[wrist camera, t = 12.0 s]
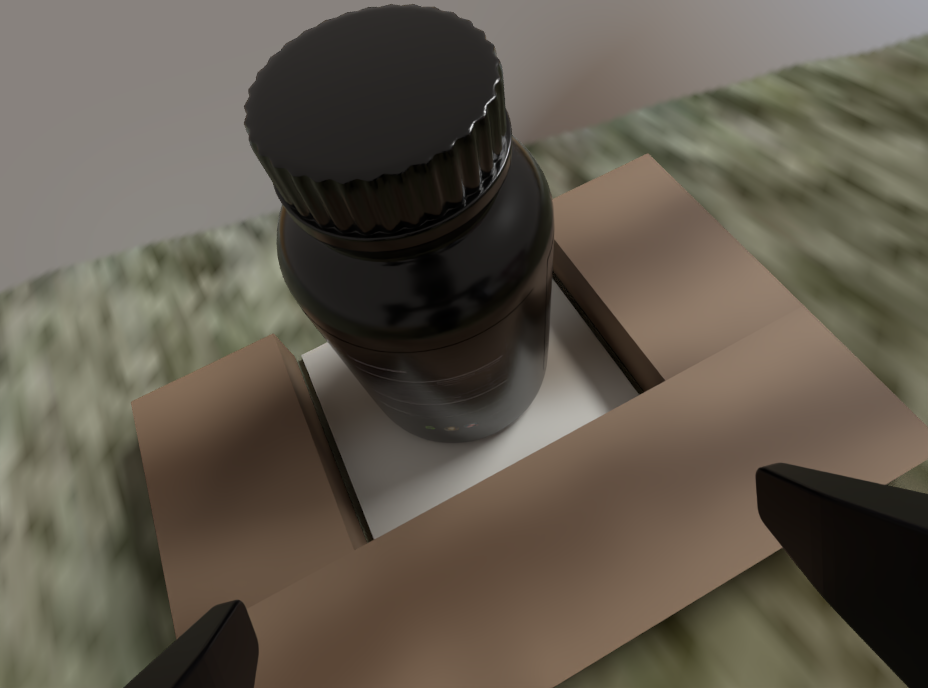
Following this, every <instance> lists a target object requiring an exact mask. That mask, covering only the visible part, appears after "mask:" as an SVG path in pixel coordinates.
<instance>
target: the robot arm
mask: <svg viewBox="0 0 928 688" xmlns="http://www.w3.org/2000/svg"><path fill="white" fill-rule="evenodd" d="M755 481H756V495H757V508H758V513H759V516H760V518H761V520H762V522H763V523H764V525H765V526H766V527H767V528H768V530H769V531H770V532H771V533H772V535H773V536H774V537H775V538H776V540H777V541H778V542H779V544H780V545H781V546H782V547H783V549H784V550H785V551H786V552H787V554H788V555H789V556H790V557H791V559H792V560H793V561H794V562H795V564H796V565H797V566H798V567H799V569H800V570H801V571H802V572H803V574H804V575H805V576H806V577H807V579H808V580H809V581H810V582H811V584H812V585H813V586H814V587H815V589H816V590H817V591H818V592H819V593H820V594H821V596H822V597H823V598H824V599H825V600H826V601H827V602H828V603H829V605H830V606H831V607H832V608H833V609H834V610H835V611H836V612H837V613H838V614H839V615H840V616H841V617H842V618H843V620H844V621H845V622H846V623H847V624H848V625H849V626H850V627H851V628H852V629H853V630H854V631H855V632H856V633H857V634H858V635H859V636H860V637H861V638H862V639H863V640H864V641H865V643H866V644H867V645H868V646H869V647H870V648H871V649H872V650H873V651H874V652H875V653H876V654H877V655H878V656H879V657H880V658H881V659H882V660H883V661H884V662H885V663H886V664H887V666H888V667H889V668H890V669H891V670H892V671H893V672H894V673H895V674H896V675H897V676H898V677H899V678H900V679H901V680H902V681H903V682H904V683H905V684H906V685H907V686H908V688H928V494H925V493H921V492H916V491H911V490H907V489H902V488H898V487H893V486H888V485H884V484H879V483H875V482H870V481H865V480H861V479H856V478H852V477H847V476H842V475H838V474H833V473H828V472H824V471H819V470H815V469H810V468H805V467H801V466H796V465H792V464H787V463H782V462H780V463H774V464H770V465H766V466H762V467H759V468H758V469H757V471H756V474H755ZM258 657H259V644H258V639H257V636H256V633H255V630H254V628H253V625H252V622H251V620H250V617H249V614H248V611H247V609H246V606H245V604H244V603H243V602H242V601H240V600H233V601H229V602H225V603H221V604H217V605H215V606H213V607H212V608H211V609H210V610H209V611H208V612H207V613H205V614H204V615H203V616H202V617H201V618H200V619H199V620H198V621H197V622H195V623H194V624H193V625H192V626H191V627H190V628H189V629H188V630H187V631H185V632H184V633H183V634H182V635H181V636H180V637H179V638H178V639H177V640H176V641H174V642H173V643H172V644H171V645H170V646H169V647H168V648H167V649H166V650H164V651H163V652H162V653H161V654H160V655H159V656H158V657H157V658H156V659H154V660H153V661H152V662H151V663H150V664H149V665H148V666H147V667H146V668H144V669H143V670H142V671H141V672H140V673H139V674H138V675H137V676H136V677H135V678H133V679H132V680H131V681H130V682H129V683H128V684H127V685H126V686H125V687H123V688H254V685H255V678H256V671H257V664H258Z"/></svg>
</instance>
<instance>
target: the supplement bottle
mask: <svg viewBox="0 0 928 688" xmlns="http://www.w3.org/2000/svg"><path fill="white" fill-rule="evenodd" d="M244 108H245V112H246V114H247V115H246V118H245V121H244V125H245V128H246V131H247V133H248V135H249V142H250V145H251V147H252V149H253V151H254V153H255V154H256V156H257V158H258V159H259V161H260V163H261V164H262V166H263V167H264V169H265V171H266V172H267V174H268V175H269V177H270V178H271V180H272V182H273V185H274V189H275V191H276V194H277V196H278V198H279V199H280V201H281V203H282V206H281V210H280V214H279V219H278V226H277V253H278V260H279V265H280V269H281V272H282V275H283V278H284V280H285V283H286V285H287V286H288V288H289V290H290V292H291V294H292V295H293V297H294V298H295V300H296V301H297V303H298V304H299V306H300V307H301V309H302V310H303V311H304V313H305V314H306V315H307V317H308V318H309V319H310V320H311V322H312V323H313V324H314V326H315V327H316V328H317V329H318V331H319V332H320V333H321V334H322V336H323V337H324V338H325V339H326V341H327V342H328V343H329V345H330V346H331V347H332V348H333V350H334V351H335V352H336V353H337V355H338V356H339V357H340V358H341V360H342V361H343V362H344V363H345V365H346V366H347V367H348V369H349V370H350V371H351V372H352V374H353V375H354V376H355V377H356V379H357V380H358V381H359V382H360V384H361V385H362V386H363V387H364V389H365V390H366V391H367V393H368V394H369V395H370V396H371V398H372V399H373V400H374V401H375V403H376V404H377V405H378V406H379V407H380V408H381V409H382V411H383V412H384V413H385V414H386V415H387V416H388V417H389V418H390V419H391V420H392V421H393V422H394V423H395V424H397V425H398V426H400V427H401V428H402V429H404V430H405V431H407V432H409V433H411V434H413V435H415V436H417V437H420V438H423V439H426V440H430V441H434V442H441V443H464V442H470V441H475V440H479V439H483V438H485V437H488V436H491V435H493V434H495V433H497V432H499V431H501V430H503V429H504V428H506V427H507V426H509V425H510V424H512V423H513V422H514V421H515V420H517V419H518V418H519V417H520V416H521V415H522V414H523V413H524V412H525V411H526V410H527V408H528V407H529V406H530V405H531V403H532V402H533V400H534V399H535V397H536V395H537V394H538V392H539V390H540V387H541V385H542V382H543V379H544V376H545V372H546V367H547V359H548V349H549V332H550V311H551V291H552V271H553V251H554V207H553V201H552V195H551V192H550V189H549V185H548V182H547V180H546V178H545V176H544V173H543V171H542V170H541V168H540V166H539V165H538V163H537V161H536V160H535V159H534V157H533V156H532V155H531V153H530V152H529V151H528V150H527V149H526V148H525V146H524V145H523V144H522V143H521V142H520V141H519V140H518V139H516V138H515V137H514V136H513V135H512V128H511V122H510V118H509V115H508V112H507V110H506V108H505V97H504V82H503V70H502V66H501V63H500V61H499V59H498V58H497V54H496V50H495V46H494V45H493V44H492V43H491V42H489V41H488V40H486V36H485V33H484V31H481V30H479V29H477V28H475V27H474V26H473V24H472V22H471V21H469V20H466V19H462V18H459V17H458V16H457V15H456V14H455V13H454V12H447V11H441V10H439V9H437V8H436V7H421V6H418V5H414V4H411V5H402V6H400V5H393V4H390V5H386V6H382V7H368V8H365V9H362V10H359V11H356V12H347V13H345V14H343V15H340V16H339V17H337V18H333V19H329V20H325V21H323V22H322V23H320V24H319V25H318V26H316V27H314V28H311V29H308V30H306V31H304V32H303V33H302V34H301V35H300V36H298V37H297V38H296V39H294V40H292V41H290V42H288V43H286V44H285V45H284V47H283V48H282V49H281V51H279V52H278V53H276V54H275V55H273V56H272V57H271V58H270V59H269V61H268V63H267V65H266V66H265V67H264V68H263V69H261V70H260V71H259V72H258V73H257V76H256V81H255V82H254V83H253V84H252V86H251V87H250V88H249V98H248V100H247V102H246V104H245V105H244Z"/></svg>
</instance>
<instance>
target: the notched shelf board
mask: <svg viewBox="0 0 928 688" xmlns="http://www.w3.org/2000/svg"><path fill="white" fill-rule="evenodd" d="M552 201H553V207H554V251H553V271H554V273H555V274H556V275H557V277H558V278H559V279H560V281H561V282H562V283H563V285H564V286H565V287H566V289H567V290H568V291H569V293H570V294H571V295H572V296H573V298H574V299H575V300H576V302H577V303H578V304H579V306H580V307H581V308H582V310H583V311H584V312H585V314H586V315H587V316H588V318H589V319H590V320H591V322H592V323H593V324H594V326H595V327H596V328H597V330H598V331H599V332H600V334H601V335H602V336H603V338H604V339H605V340H606V342H607V343H608V344H609V346H610V347H611V348H612V350H613V351H614V352H615V354H616V355H617V356H618V358H619V359H620V360H621V362H622V363H623V364H624V366H625V367H626V368H627V370H628V371H629V372H630V374H631V375H632V376H633V378H634V379H635V380H636V381H637V383H638V384H639V385H640V387H641V388H642V389H643V391H644V393H642V394H640V395H639V394H638V393H637V391H636V390H635V389H634V387H633V386H632V385H631V383H630V382H629V380H628V379H627V378H626V376H625V375H624V374H623V372H622V371H621V370H620V368H619V367H618V366H617V364H616V363H615V362H614V360H613V359H612V358H611V356H610V355H609V354H608V352H607V351H606V350H605V348H604V347H603V346H602V344H601V343H600V342H599V340H598V339H597V338H596V336H595V335H594V334H593V332H592V331H591V329H590V328H589V327H588V325H587V324H586V323H585V321H584V320H583V319H582V317H581V316H580V315H579V313H578V312H577V311H576V309H575V308H574V307H573V305H572V304H571V303H570V301H569V300H568V299H567V297H566V296H565V295H564V293H563V292H562V291H561V289H560V288H559V287H558V285H557V284H556V283H555V281H554V280H553V278H552V291H551V311H550V332H549V349H548V359H547V367H546V372H545V376H544V379H543V382H542V385H541V387H540V390H539V392H538V394H537V395H536V397H535V399H534V400H533V402H532V403H531V405H530V406H529V407H528V408H527V410H526V411H525V412H524V413H523V414H522V415H521V416H520V417H519V418H518V419H517V420H515V421H514V422H513V423H512V424H510V425H509V426H507V427H506V428H504V429H503V430H501V431H499V432H497V433H495V434H493V435H491V436H488V437H485V438H483V439H479V440H475V441H470V442H464V443H441V442H434V441H430V440H426V439H423V438H420V437H417V436H415V435H413V434H411V433H409V432H407V431H405V430H404V429H402V428H401V427H400V426H398V425H397V424H395V423H394V422H393V421H392V420H391V419H390V418H389V417H388V416H387V415H386V414H385V413H384V412H383V411H382V409H381V408H380V407H379V406H378V405H377V404H376V403H375V401H374V400H373V399H372V398H371V396H370V395H369V394H368V393H367V391H366V390H365V389H364V387H363V386H362V385H361V384H360V382H359V381H358V380H357V379H356V377H355V376H354V375H353V374H352V372H351V371H350V370H349V369H348V367H347V366H346V365H345V363H344V362H343V361H342V360H341V358H340V357H339V356H338V355H337V353H336V352H335V351H334V350H333V348H332V347H331V346H330V345H329V343H328V342H327V343H325V344H323V345H321V346H319V347H317V348H315V349H313V350H311V351H309V352H307V353H305V354H303V355H301V356H302V358H303V361H304V363H305V366H306V368H307V371H308V373H309V376H310V378H311V381H312V383H313V386H314V388H315V391H316V393H317V396H318V399H319V401H320V404H321V406H322V409H323V411H324V414H325V416H326V419H327V421H328V424H329V426H330V429H331V431H332V434H333V437H334V439H335V442H336V444H337V447H338V449H339V452H340V454H341V457H342V459H343V462H344V464H345V467H346V469H347V472H348V474H349V477H350V480H351V482H352V485H353V487H354V490H355V492H356V495H357V497H358V500H359V502H360V505H361V507H362V510H363V512H364V515H365V518H366V520H367V523H368V525H369V528H370V530H371V533H372V535H373V538H374V540H373V541H371V542H369V543H367V542H366V539H365V537H364V534H363V531H362V529H361V526H360V524H359V521H358V518H357V516H356V513H355V511H354V508H353V506H352V503H351V500H350V498H349V495H348V493H347V490H346V487H345V485H344V482H343V480H342V477H341V475H340V472H339V469H338V467H337V464H336V462H335V459H334V456H333V454H332V451H331V449H330V446H329V444H328V441H327V438H326V436H325V433H324V431H323V428H322V425H321V423H320V420H319V418H318V415H317V413H316V410H315V407H314V405H313V402H312V400H311V397H310V394H309V392H308V389H307V387H306V384H305V382H304V379H303V376H302V374H301V371H300V369H299V366H298V363H297V361H296V358H295V356H294V355H293V354H292V353H291V352H290V351H289V350H288V349H287V348H286V347H285V346H284V344H283V343H282V342H281V341H280V340H279V339H278V338H277V337H276V336H275V335H274V334H271V335H269V336H267V337H265V338H263V339H261V340H258V341H256V342H254V343H252V344H250V345H248V346H246V347H244V348H242V349H240V350H238V351H236V352H234V353H231V354H229V355H227V356H225V357H223V358H221V359H219V360H217V361H215V362H213V363H211V364H209V365H206V366H204V367H202V368H200V369H198V370H196V371H194V372H192V373H190V374H188V375H186V376H184V377H182V378H179V379H177V380H175V381H173V382H171V383H169V384H167V385H165V386H163V387H161V388H159V389H157V390H154V391H152V392H150V393H148V394H146V395H144V396H142V397H140V398H138V399H136V400H134V401H132V402H131V405H132V410H133V415H134V420H135V426H136V431H137V436H138V441H139V447H140V452H141V457H142V462H143V467H144V473H145V478H146V483H147V488H148V494H149V499H150V504H151V509H152V515H153V520H154V525H155V530H156V535H157V541H158V546H159V551H160V556H161V562H162V567H163V572H164V577H165V582H166V588H167V593H168V598H169V603H170V609H171V614H172V619H173V624H174V629H175V635H176V640H177V639H178V638H179V637H180V636H181V635H182V634H183V633H184V632H185V631H187V630H188V629H189V628H190V627H191V626H192V625H193V624H194V623H195V622H197V621H198V620H199V619H200V618H201V617H202V616H203V615H204V614H205V613H207V612H208V611H209V610H210V609H211V608H212V607H213V606H215V605H217V604H221V603H225V602H229V601H233V600H240V601H242V602H243V603H244V604H245V606H246V609H247V611H248V614H249V617H250V620H251V622H252V625H253V628H254V630H255V633H256V636H257V639H258V644H259V657H258V664H257V671H256V678H255V685H254V688H553V687H555V686H556V685H558V684H560V683H561V682H563V681H564V680H566V679H568V678H569V677H571V676H573V675H574V674H576V673H578V672H579V671H581V670H582V669H584V668H586V667H587V666H589V665H591V664H592V663H594V662H596V661H597V660H599V659H601V658H602V657H604V656H605V655H607V654H609V653H610V652H612V651H614V650H615V649H617V648H619V647H620V646H622V645H623V644H625V643H627V642H628V641H630V640H632V639H633V638H635V637H637V636H638V635H640V634H641V633H643V632H645V631H646V630H648V629H650V628H651V627H653V626H655V625H656V624H658V623H660V622H661V621H663V620H664V619H666V618H668V617H669V616H671V615H673V614H674V613H676V612H678V611H679V610H681V609H682V608H684V607H686V606H687V605H689V604H691V603H692V602H694V601H696V600H697V599H699V598H701V597H702V596H704V595H705V594H707V593H709V592H710V591H712V590H714V589H715V588H717V587H719V586H720V585H722V584H723V583H725V582H727V581H728V580H730V579H732V578H733V577H735V576H737V575H738V574H740V573H741V572H743V571H745V570H746V569H748V568H750V567H751V566H753V565H755V564H756V563H758V562H760V561H761V560H763V559H764V558H766V557H768V556H769V555H771V554H773V553H774V552H776V551H778V550H779V549H781V548H782V546H781V545H780V544H779V542H778V541H777V540H776V538H775V537H774V536H773V535H772V533H771V532H770V531H769V530H768V528H767V527H766V526H765V525H764V523H763V522H762V520H761V518H760V516H759V513H758V508H757V495H756V481H755V474H756V471H757V469H758V468H759V467H762V466H766V465H770V464H774V463H780V462H782V463H787V464H792V465H796V466H801V467H805V468H810V469H815V470H819V471H824V472H828V473H833V474H838V475H842V476H847V477H852V478H856V479H861V480H865V481H870V482H875V483H879V484H884V485H886V484H887V483H889V482H891V481H892V480H894V479H896V478H897V477H899V476H901V475H902V474H904V473H905V472H907V471H909V470H910V469H912V468H914V467H915V466H917V465H919V464H920V463H922V462H923V461H925V460H927V459H928V427H927V426H926V425H925V424H924V423H923V422H922V421H921V420H920V419H919V418H918V417H917V416H916V415H915V414H914V413H913V412H912V411H911V410H910V409H909V408H908V407H907V406H906V405H905V404H904V403H903V402H902V401H901V400H900V399H899V398H898V397H897V396H896V395H895V394H894V393H893V392H892V391H891V390H890V389H889V388H888V387H886V386H885V385H884V384H883V383H882V382H881V381H880V380H879V379H878V378H877V377H876V376H875V375H874V374H873V373H872V372H871V371H870V370H869V369H868V368H867V367H866V366H865V365H864V364H863V363H862V362H861V361H860V360H859V359H858V358H857V357H856V356H855V355H854V354H853V353H852V352H851V351H850V350H849V349H848V348H847V347H846V346H845V345H844V344H842V343H841V342H840V341H839V340H838V339H837V338H836V337H835V336H834V335H833V334H832V333H831V332H830V331H829V330H828V329H827V328H826V327H825V326H824V325H823V324H822V323H821V322H820V321H819V320H818V319H817V318H816V317H815V316H814V315H813V314H812V313H811V312H810V311H809V310H808V309H807V308H806V307H805V306H804V305H803V304H802V303H801V302H800V301H799V300H797V299H796V298H795V297H794V296H793V295H792V294H791V293H790V292H789V291H788V290H787V289H786V288H785V287H784V286H783V285H782V284H781V283H780V282H779V281H778V280H777V279H776V278H775V277H774V276H773V275H772V274H771V273H770V272H769V271H768V270H767V269H766V268H765V267H764V266H763V265H762V264H761V263H760V262H759V261H758V260H757V259H756V258H755V257H754V256H752V255H751V254H750V253H749V252H748V251H747V250H746V249H745V248H744V247H743V246H742V245H741V244H740V243H739V242H738V241H737V240H736V239H735V238H734V237H733V236H732V235H731V234H730V233H729V232H728V231H727V230H726V229H725V228H724V227H723V226H722V225H721V224H720V223H719V222H718V221H717V220H716V219H715V218H714V217H713V216H712V215H711V214H710V213H708V212H707V211H706V210H705V209H704V208H703V207H702V206H701V205H700V204H699V203H698V202H697V201H696V200H695V199H694V198H693V197H692V196H691V195H690V194H689V193H688V192H687V191H686V190H685V189H684V188H683V187H682V186H681V185H680V184H679V183H678V182H677V181H676V180H675V179H674V178H673V177H672V176H671V175H670V174H669V173H668V172H667V171H666V170H665V169H663V168H662V167H661V166H660V165H659V164H658V163H657V162H656V161H655V160H654V159H653V158H652V157H651V156H650V155H649V154H645V155H643V156H641V157H639V158H637V159H635V160H633V161H631V162H629V163H627V164H625V165H623V166H621V167H618V168H616V169H614V170H612V171H610V172H608V173H606V174H604V175H602V176H600V177H598V178H596V179H593V180H591V181H589V182H587V183H585V184H583V185H581V186H579V187H577V188H575V189H573V190H571V191H568V192H566V193H564V194H562V195H560V196H558V197H556V198H554V199H552Z"/></svg>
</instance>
